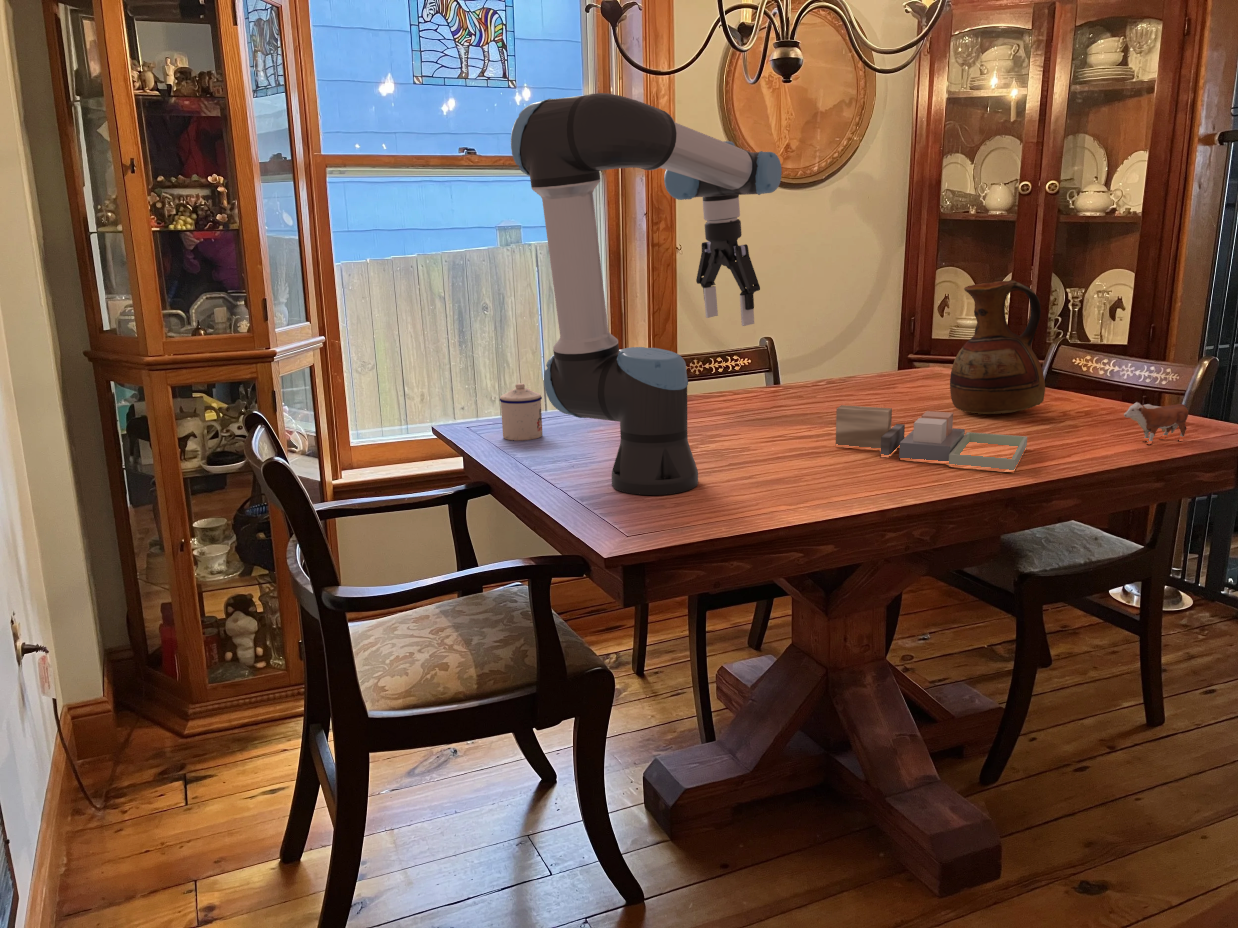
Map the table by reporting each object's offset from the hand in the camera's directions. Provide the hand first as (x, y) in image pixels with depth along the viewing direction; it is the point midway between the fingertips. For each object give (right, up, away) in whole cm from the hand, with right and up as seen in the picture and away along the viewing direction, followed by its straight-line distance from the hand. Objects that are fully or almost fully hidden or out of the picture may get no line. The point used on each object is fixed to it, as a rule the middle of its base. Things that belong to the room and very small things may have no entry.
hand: (729, 320), depth 205 cm
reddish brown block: (+38, -25, -21) cm, 50 cm away
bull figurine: (+81, -27, -19) cm, 87 cm away
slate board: (+36, -29, -23) cm, 52 cm away
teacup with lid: (-45, -25, +4) cm, 52 cm away
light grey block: (+34, -26, -27) cm, 51 cm away
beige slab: (+25, -28, -17) cm, 41 cm away
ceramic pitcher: (+62, -19, +13) cm, 67 cm away
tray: (+45, -30, -28) cm, 61 cm away
